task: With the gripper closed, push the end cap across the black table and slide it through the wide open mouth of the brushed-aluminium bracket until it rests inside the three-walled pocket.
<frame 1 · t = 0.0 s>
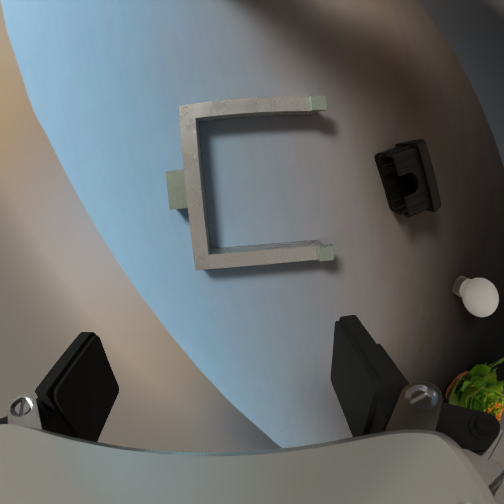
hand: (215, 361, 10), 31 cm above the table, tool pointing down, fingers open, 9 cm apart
end cap: (399, 176, 40), on the table
mounting bracket: (258, 180, 39), on the table
potted flower: (456, 384, 54), on the table
light bulb: (459, 283, 45), on the table
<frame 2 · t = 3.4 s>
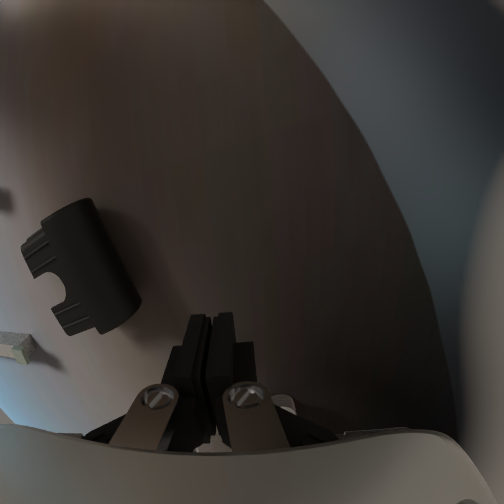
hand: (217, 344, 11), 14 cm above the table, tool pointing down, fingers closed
end cap: (100, 255, 25), on the table
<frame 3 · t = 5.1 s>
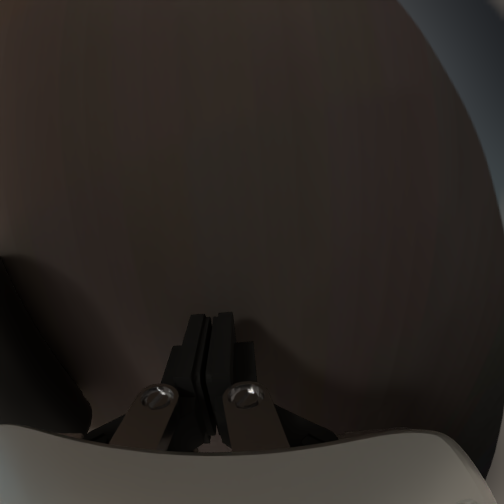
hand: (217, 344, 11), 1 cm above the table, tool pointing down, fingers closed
end cap: (28, 327, 13), on the table
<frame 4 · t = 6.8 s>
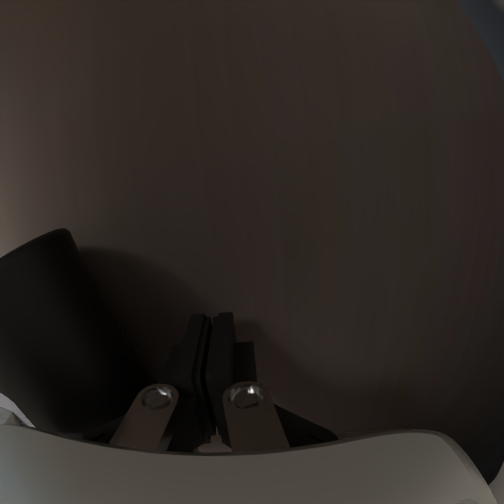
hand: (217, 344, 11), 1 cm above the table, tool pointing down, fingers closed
end cap: (96, 330, 13), on the table, touching gripper
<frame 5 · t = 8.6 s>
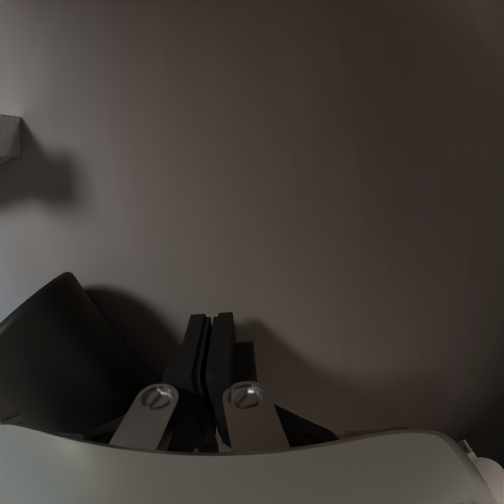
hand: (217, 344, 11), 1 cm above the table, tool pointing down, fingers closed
end cap: (115, 359, 13), on the table, touching gripper
light bulb: (450, 449, 19), on the table
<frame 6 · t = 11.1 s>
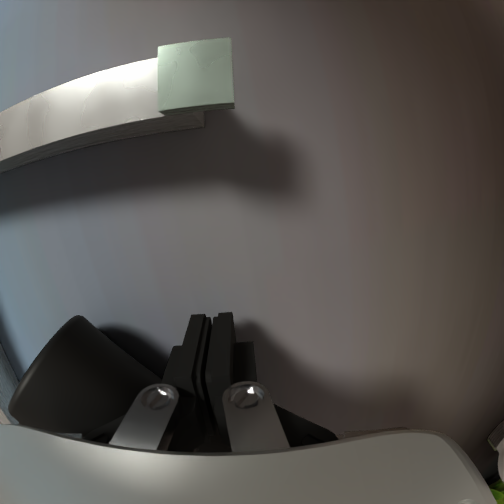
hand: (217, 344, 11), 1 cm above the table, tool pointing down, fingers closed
end cap: (147, 385, 14), on the table, touching gripper, mounting bracket
mounting bracket: (74, 336, 13), on the table
potted flower: (459, 498, 28), on the table
light bulb: (499, 426, 19), on the table
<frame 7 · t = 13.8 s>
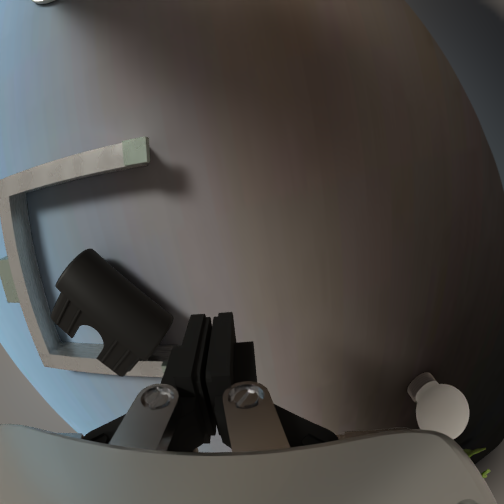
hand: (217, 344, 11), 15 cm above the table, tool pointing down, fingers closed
end cap: (124, 295, 27), on the table
mounting bracket: (89, 268, 26), on the table
light bulb: (419, 381, 32), on the table
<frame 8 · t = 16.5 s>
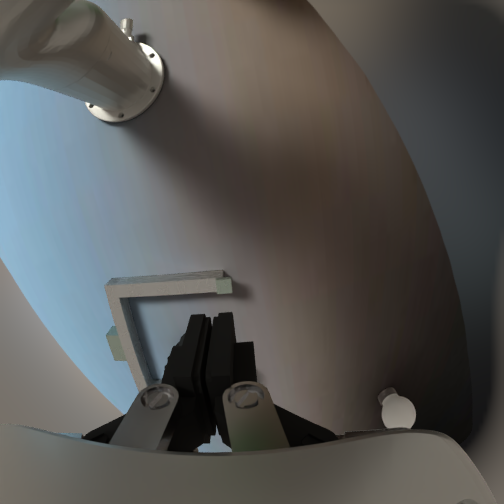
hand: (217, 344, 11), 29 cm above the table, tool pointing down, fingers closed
mounting bracket: (181, 338, 44), on the table
light bulb: (386, 392, 51), on the table
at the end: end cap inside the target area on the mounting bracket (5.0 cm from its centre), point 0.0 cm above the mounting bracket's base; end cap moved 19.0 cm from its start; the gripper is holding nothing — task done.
